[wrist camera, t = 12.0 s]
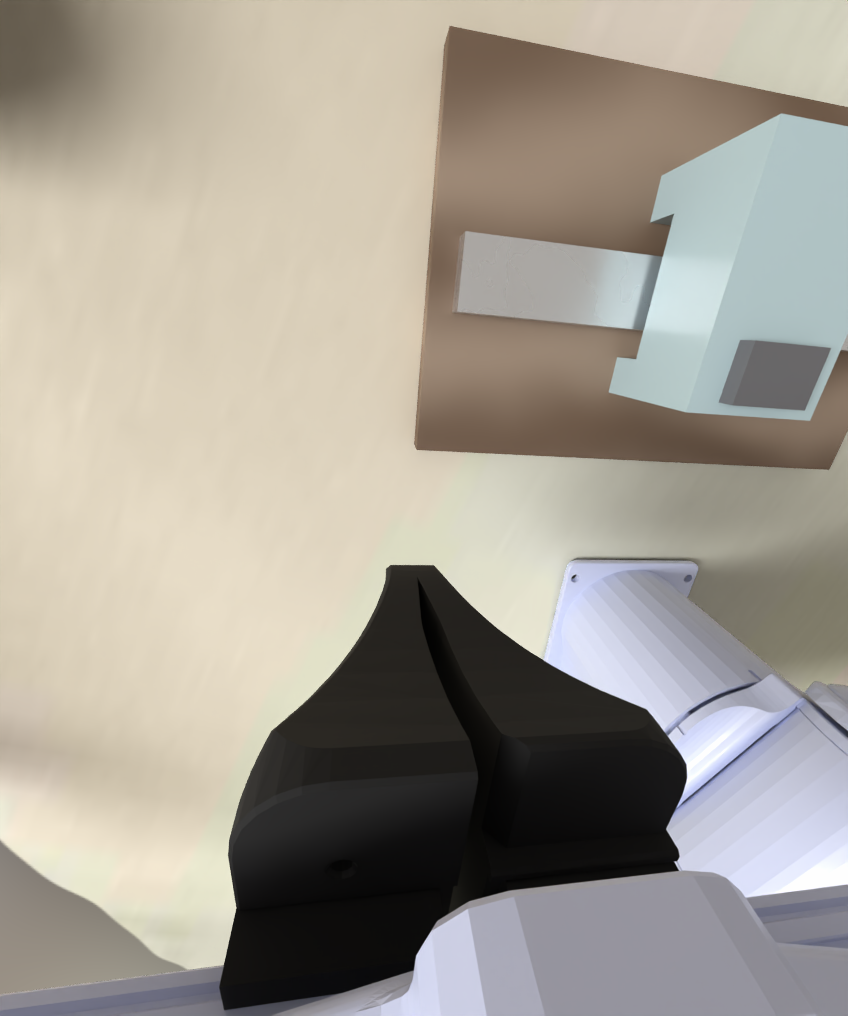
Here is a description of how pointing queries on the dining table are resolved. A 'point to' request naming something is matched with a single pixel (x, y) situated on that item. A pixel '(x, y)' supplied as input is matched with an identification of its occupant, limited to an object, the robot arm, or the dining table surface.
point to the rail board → (576, 258)
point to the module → (749, 276)
